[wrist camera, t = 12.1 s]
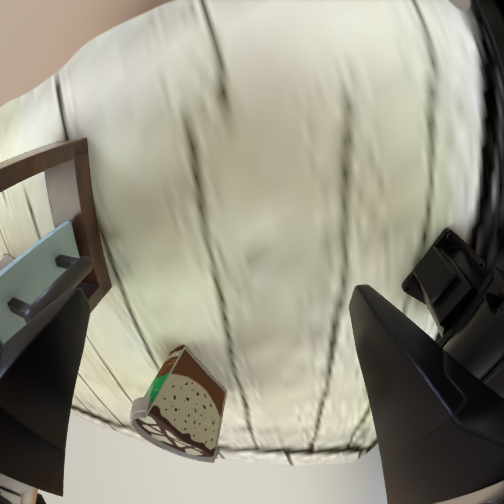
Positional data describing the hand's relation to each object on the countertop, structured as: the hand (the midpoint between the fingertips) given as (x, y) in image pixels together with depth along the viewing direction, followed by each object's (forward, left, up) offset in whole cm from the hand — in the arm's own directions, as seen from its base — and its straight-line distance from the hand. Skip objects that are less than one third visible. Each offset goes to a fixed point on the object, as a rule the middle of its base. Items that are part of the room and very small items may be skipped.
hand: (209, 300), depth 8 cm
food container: (-2, +24, -12) cm, 27 cm away
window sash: (+11, +10, -10) cm, 18 cm away
